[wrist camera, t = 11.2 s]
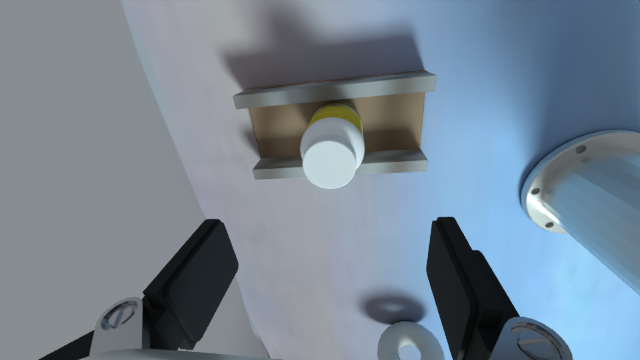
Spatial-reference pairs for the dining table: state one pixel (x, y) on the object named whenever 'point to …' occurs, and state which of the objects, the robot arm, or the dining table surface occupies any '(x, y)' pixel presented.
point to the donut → (408, 341)
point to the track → (360, 92)
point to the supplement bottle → (332, 145)
